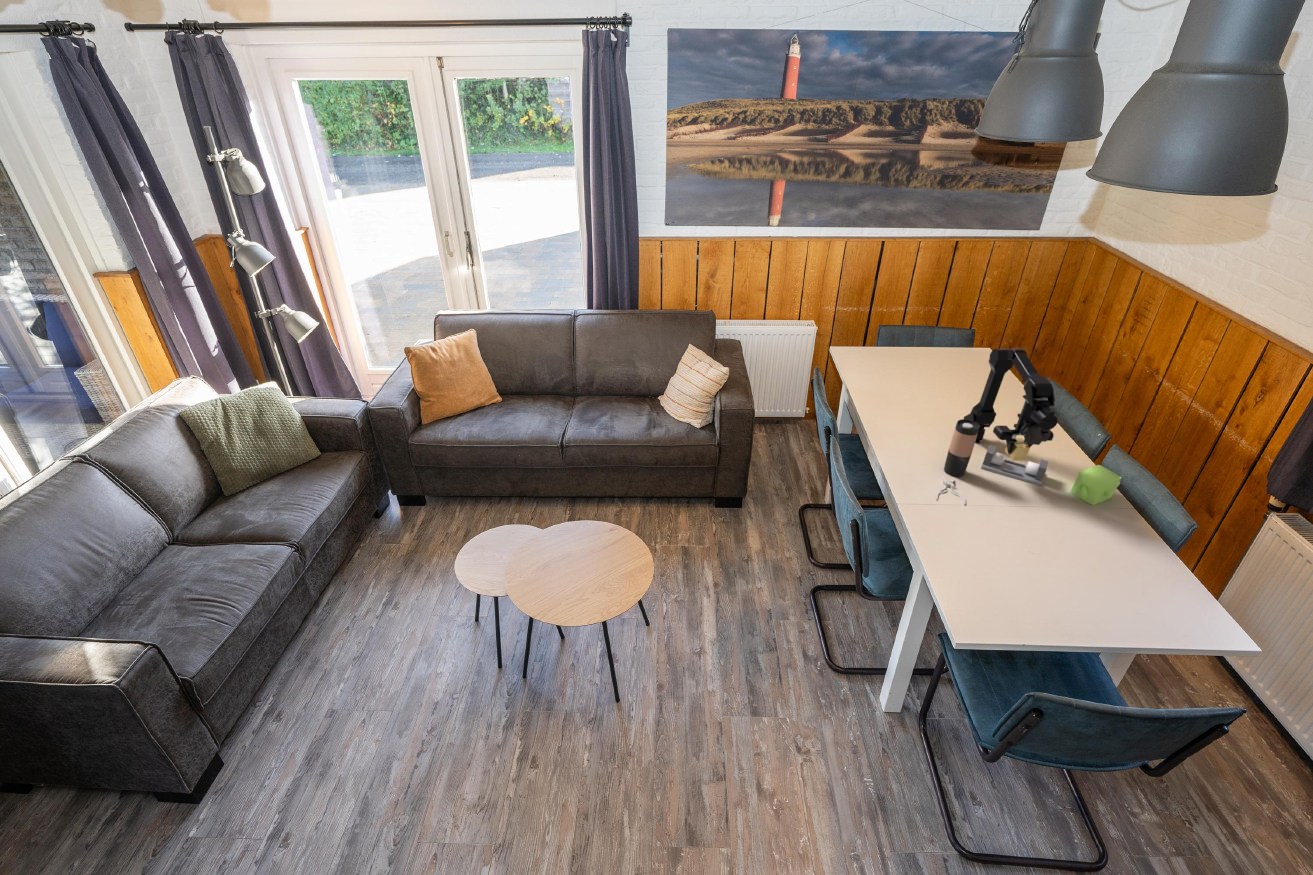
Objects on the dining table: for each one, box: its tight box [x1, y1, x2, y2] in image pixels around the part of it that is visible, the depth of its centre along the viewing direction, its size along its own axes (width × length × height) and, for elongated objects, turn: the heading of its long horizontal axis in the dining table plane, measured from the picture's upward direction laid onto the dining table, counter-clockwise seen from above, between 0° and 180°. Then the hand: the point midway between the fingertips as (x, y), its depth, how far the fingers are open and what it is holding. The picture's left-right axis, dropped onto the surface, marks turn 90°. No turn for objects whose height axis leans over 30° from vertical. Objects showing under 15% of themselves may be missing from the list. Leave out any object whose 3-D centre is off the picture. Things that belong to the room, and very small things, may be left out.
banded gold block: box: [1004, 437, 1031, 462], centre depth 235 cm, size 6×5×6 cm
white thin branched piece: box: [934, 475, 966, 506], centre depth 233 cm, size 10×2×15 cm
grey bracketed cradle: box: [980, 444, 1049, 487], centre depth 244 cm, size 20×10×6 cm, turn 58°
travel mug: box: [943, 418, 980, 478], centre depth 239 cm, size 8×8×20 cm
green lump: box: [1070, 464, 1122, 506], centre depth 230 cm, size 18×10×10 cm, turn 117°
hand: (1015, 453), depth 236 cm, fingers closed on banded gold block, 5 cm apart
